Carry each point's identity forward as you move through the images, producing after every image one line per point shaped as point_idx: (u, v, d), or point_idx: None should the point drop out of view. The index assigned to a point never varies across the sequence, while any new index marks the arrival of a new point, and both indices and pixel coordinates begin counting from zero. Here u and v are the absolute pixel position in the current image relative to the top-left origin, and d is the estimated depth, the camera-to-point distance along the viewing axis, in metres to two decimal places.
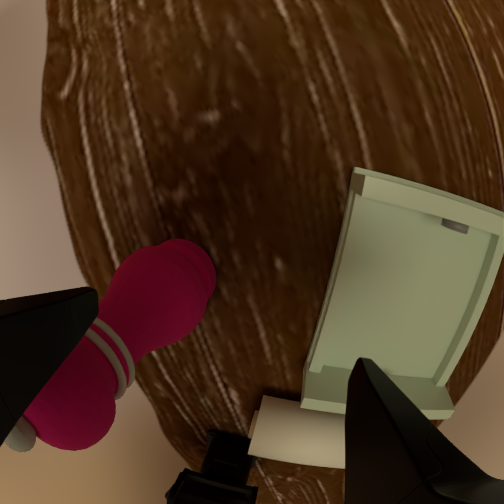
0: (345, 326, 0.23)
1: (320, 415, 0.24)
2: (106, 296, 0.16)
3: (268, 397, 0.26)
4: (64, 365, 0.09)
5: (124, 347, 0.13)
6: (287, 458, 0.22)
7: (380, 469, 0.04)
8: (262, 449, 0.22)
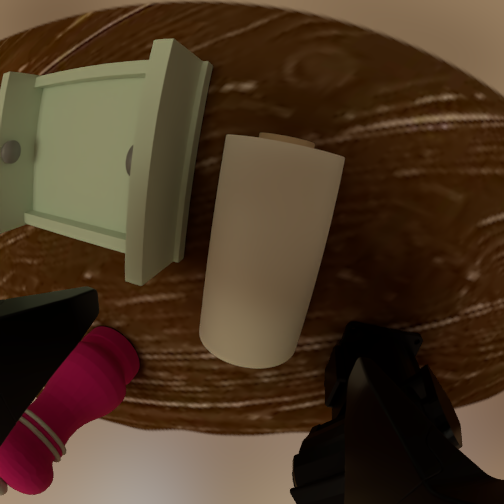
0: (113, 217, 0.21)
1: None
2: None
3: None
4: None
5: None
6: (255, 314, 0.15)
7: (380, 469, 0.04)
8: (233, 348, 0.16)
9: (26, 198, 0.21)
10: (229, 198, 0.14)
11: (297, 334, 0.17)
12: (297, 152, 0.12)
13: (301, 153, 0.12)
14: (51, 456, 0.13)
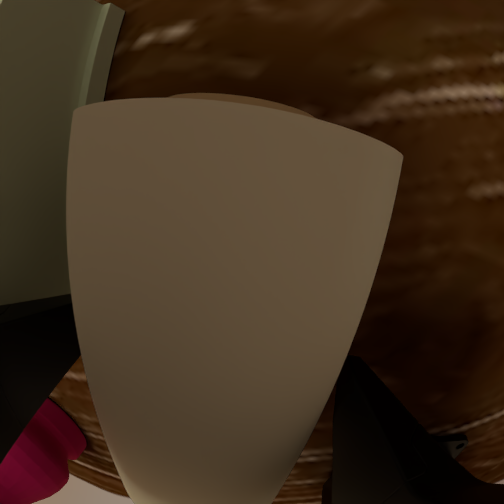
0: None
1: None
2: None
3: None
4: None
5: None
6: None
7: (365, 469, 0.05)
8: None
9: None
10: (73, 296, 0.04)
11: (276, 494, 0.07)
12: (249, 138, 0.03)
13: (267, 142, 0.03)
14: None
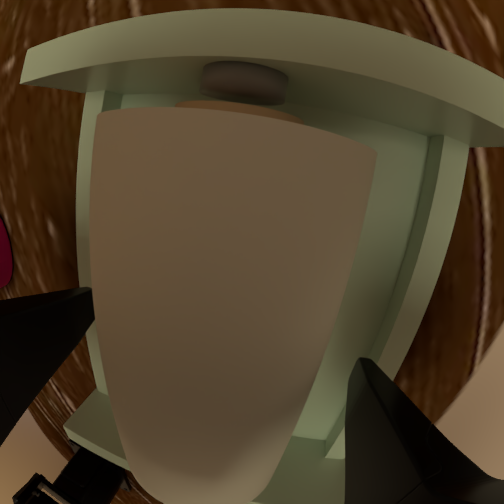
0: None
1: None
2: None
3: None
4: None
5: None
6: (184, 474, 0.06)
7: (380, 469, 0.04)
8: (162, 494, 0.07)
9: (137, 90, 0.09)
10: (93, 269, 0.05)
11: (271, 472, 0.08)
12: (234, 137, 0.04)
13: (248, 140, 0.04)
14: None
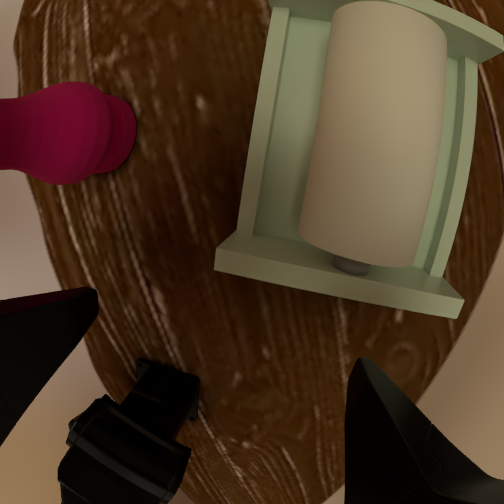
0: (282, 169, 0.18)
1: (317, 124, 0.14)
2: None
3: None
4: None
5: None
6: (396, 182, 0.11)
7: (380, 469, 0.04)
8: (364, 235, 0.12)
9: (310, 13, 0.13)
10: (356, 52, 0.10)
11: None
12: (420, 18, 0.08)
13: (423, 20, 0.08)
14: None
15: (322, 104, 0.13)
